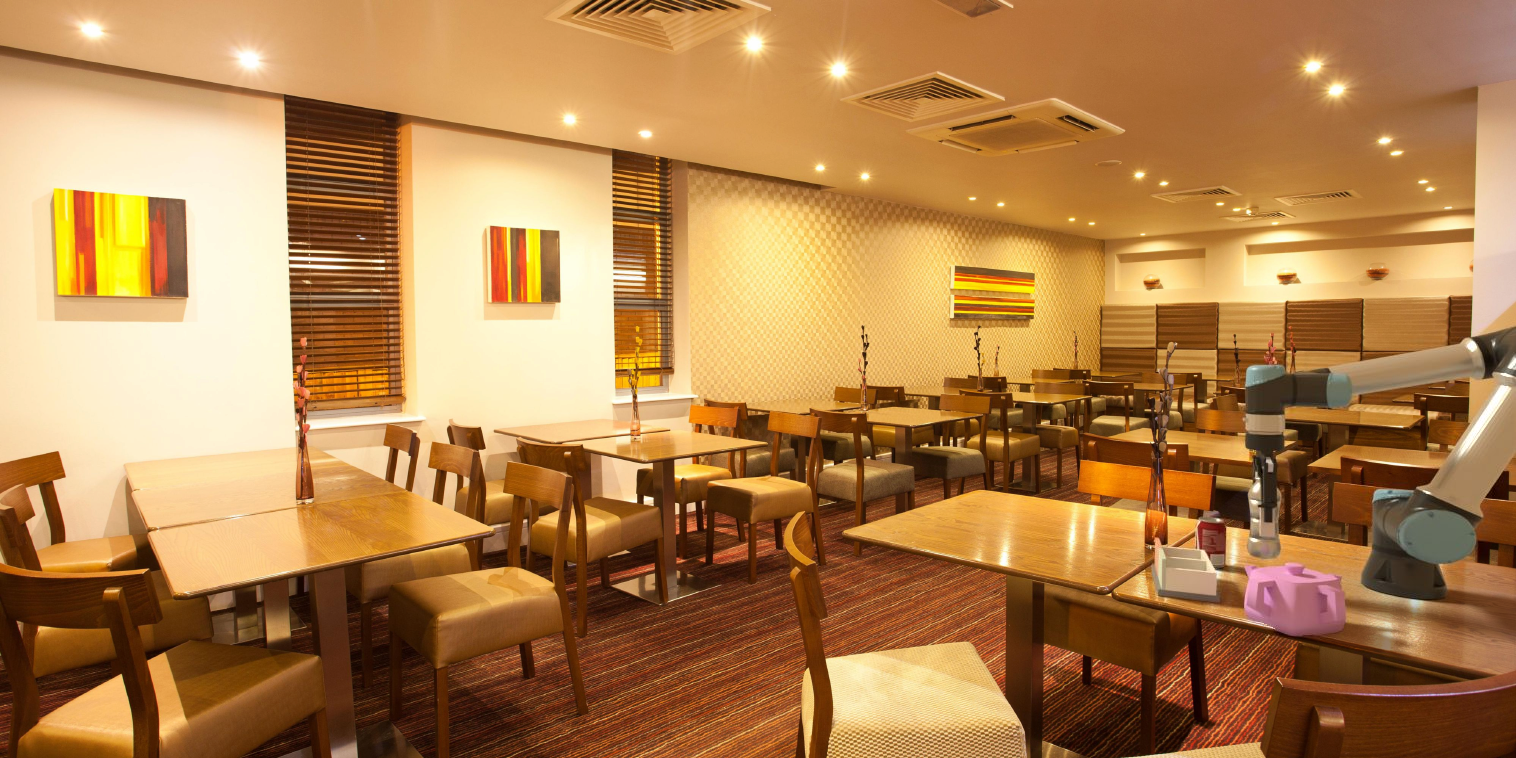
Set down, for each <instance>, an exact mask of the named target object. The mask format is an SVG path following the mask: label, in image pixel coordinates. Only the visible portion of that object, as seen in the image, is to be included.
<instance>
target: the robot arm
mask: <svg viewBox="0 0 1516 758" xmlns="http://www.w3.org/2000/svg"><path fill="white" fill-rule="evenodd" d="M1464 378H1465V379H1466V378H1471V379H1473V380H1474V381H1482V380H1488V379H1494V381H1495V386H1494V387H1493V389H1492V391H1490V392H1489V393H1490V394H1489V395H1488V396H1487V397H1486V399H1485V400H1484V402H1483V404H1482V405H1481V406H1480V408H1479V410H1478V411H1477V412H1476V414H1475V415H1474V417H1473V418H1472V420H1471V421H1470V423H1469V425H1468V426H1467V428H1466V429H1465V430H1464V432H1463V434H1461V437H1460V438H1459V439H1458V441H1457V442H1456V444H1455V446H1454V447H1453V448H1452V450H1451V451H1450V453H1449V454H1448V455H1447V458H1446V459H1445V460H1444V462H1443V463H1442V465H1441V466H1440V468H1439V469H1438V471H1437V472H1436V474H1435V476H1434V477H1433V478H1432V480H1431V481H1430V483H1428V484H1425V485H1420V486H1416V488H1415V489H1414V490H1413V489H1412V490H1409V489H1396V488H1395V489H1392V488H1391V489H1390V488H1378V489H1376V490H1374V492H1373V498H1372V501H1371V504H1372V521H1371V522H1372V523H1371V525H1372V526H1371V551H1370V554H1369V556H1368V558H1367V560H1366V562H1365V564H1364V566H1363V569H1362V570H1361V573H1360V583H1361V584H1362V585H1363V586H1364V587H1366V588H1369V589H1371V590H1374V591H1376V592H1380V593H1383V594H1388V595H1392V596H1393V595H1394V596H1398V597H1402V598H1410V599H1420V600H1440V599H1444V598H1447V596H1448V585H1447V582H1446V580H1445V577H1444V573H1443V571H1442V569H1441V566H1440V565H1448V564H1454V563H1458V562H1459V561H1462V560H1464V559H1465V558H1467V557H1469V555H1470V554H1471V553H1472V552H1473V551H1474V549H1475V547H1476V544H1477V534H1476V531H1475V530H1476V529H1477V527H1478V525H1479V524H1480V522H1481V521H1482V520H1483V518H1484V514H1483V511H1482V509H1481V504H1482V502H1483V501H1484V499H1486V496H1487V494H1489V492H1490V491H1491V489H1492V487H1494V485H1495V483H1496V482H1497V480H1498V479H1499V477H1500V476H1501V475H1502V473H1503V471H1505V468H1506V467H1507V466H1508V465H1509V463H1510V462H1511V460H1512V458H1514V456H1515V454H1516V325H1515V326H1514V325H1513V326H1511V327H1506V328H1503V329H1500V330H1496V331H1492V332H1489V333H1484V334H1480V335H1476V336H1475V335H1474V336H1471V337H1464V338H1463V339H1462V341H1461V342H1460V343H1457V344H1450V345H1446V346H1440V347H1433V348H1430V349H1429V348H1428V349H1424V350H1418V351H1411V352H1406V353H1401V354H1394V355H1388V356H1383V357H1377V358H1372V359H1366V360H1361V361H1355V362H1350V363H1349V362H1348V363H1344V364H1339V365H1332V366H1327V367H1321V368H1316V369H1315V368H1314V369H1311V370H1297V371H1294V372H1293V371H1292V372H1291V373H1290V372H1289V373H1287V371H1286V367H1285V366H1284V365H1283V364H1282V365H1281V364H1254V365H1250V366H1248V367H1247V369H1246V373H1245V384H1244V390H1245V391H1244V393H1245V394H1244V395H1245V400H1244V401H1245V417H1242V421H1243V422H1245V430H1246V431H1248V432H1246V433H1244V438H1245V439H1244V441H1245V442H1244V443H1245V445H1244V447H1245V448H1246V449H1247V450H1251V451H1255V454H1253V455H1252V456H1251V458H1252V486H1253V485H1254V483H1255V482H1256V480H1255V471H1257V477H1259V478H1260V489H1261V505H1258V508H1260V536H1266V537H1275V507H1277V505H1278V504H1277V488H1278V467H1279V465H1278V463H1277V459H1276V458H1275V457H1274V452H1281V451H1284V450H1285V446H1286V445H1285V444H1286V443H1285V435H1284V432H1285V430H1286V413H1285V412H1286V411H1285V410H1286V408H1287V407H1288V408H1293V407H1297V408H1298V407H1299V408H1329V409H1333V408H1346V407H1348V406H1349V405H1350V404H1351V403H1352V398H1353V396H1359V395H1364V394H1371V393H1377V392H1378V393H1379V392H1383V391H1389V390H1391V391H1392V390H1396V389H1402V388H1403V389H1404V388H1408V387H1409V388H1410V387H1414V386H1421V385H1429V384H1434V383H1440V382H1446V381H1453V380H1458V379H1464ZM1261 473H1263V474H1261Z"/></svg>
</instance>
